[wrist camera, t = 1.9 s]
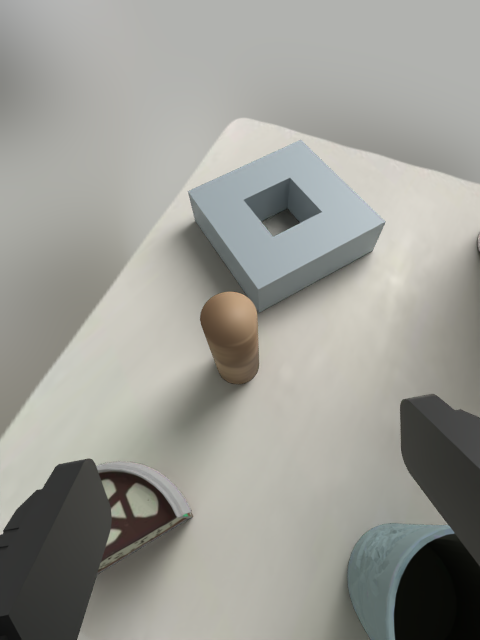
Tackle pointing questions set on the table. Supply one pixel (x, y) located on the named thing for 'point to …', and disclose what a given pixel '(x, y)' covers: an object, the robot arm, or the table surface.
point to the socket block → (295, 243)
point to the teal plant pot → (415, 584)
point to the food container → (138, 508)
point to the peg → (232, 335)
